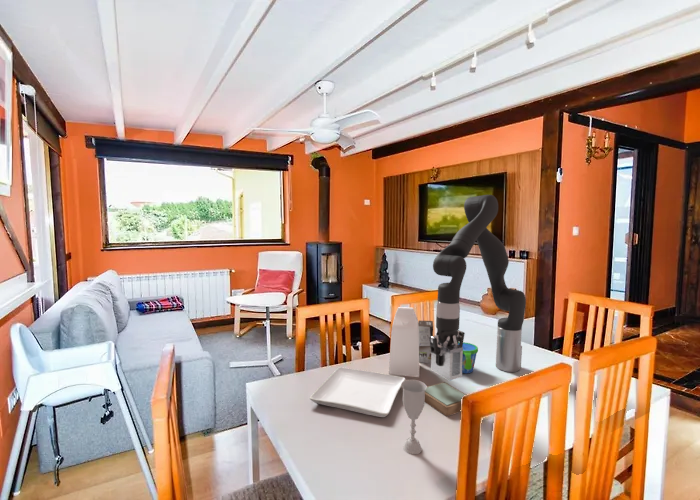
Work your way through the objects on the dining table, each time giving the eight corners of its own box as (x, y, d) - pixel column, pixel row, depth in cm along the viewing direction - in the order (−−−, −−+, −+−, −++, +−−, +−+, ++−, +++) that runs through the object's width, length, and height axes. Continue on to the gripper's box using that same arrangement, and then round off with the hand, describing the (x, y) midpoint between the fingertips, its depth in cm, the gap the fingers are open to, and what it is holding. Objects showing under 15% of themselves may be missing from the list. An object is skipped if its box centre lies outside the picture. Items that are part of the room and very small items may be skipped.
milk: (419, 365, 160) (420, 305, 157) (419, 377, 149) (420, 312, 146) (390, 363, 162) (391, 303, 159) (388, 374, 151) (389, 310, 148)
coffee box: (432, 363, 162) (433, 326, 160) (417, 362, 163) (417, 325, 162) (432, 355, 171) (433, 320, 169) (417, 354, 172) (418, 319, 171)
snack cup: (448, 361, 164) (449, 339, 163) (474, 363, 162) (475, 340, 161) (451, 377, 149) (452, 352, 148) (479, 379, 147) (480, 354, 146)
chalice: (397, 440, 108) (398, 380, 106) (421, 439, 108) (422, 379, 106) (403, 457, 100) (404, 392, 98) (428, 456, 101) (430, 391, 99)
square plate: (308, 408, 126) (308, 397, 125) (338, 374, 151) (338, 365, 151) (387, 424, 116) (387, 412, 116) (406, 386, 142) (406, 376, 142)
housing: (442, 367, 134) (443, 339, 132) (461, 376, 126) (462, 347, 125) (430, 370, 131) (431, 341, 130) (449, 380, 123) (450, 350, 122)
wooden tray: (443, 389, 138) (444, 381, 138) (473, 407, 126) (473, 397, 126) (418, 397, 132) (418, 388, 132) (446, 416, 120) (446, 406, 120)
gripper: (455, 309, 133) (454, 356, 135) (423, 314, 126) (422, 363, 128) (472, 314, 126) (470, 363, 128) (439, 320, 119) (437, 372, 121)
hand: (446, 363), depth 128 cm, fingers closed on housing, 5 cm apart
